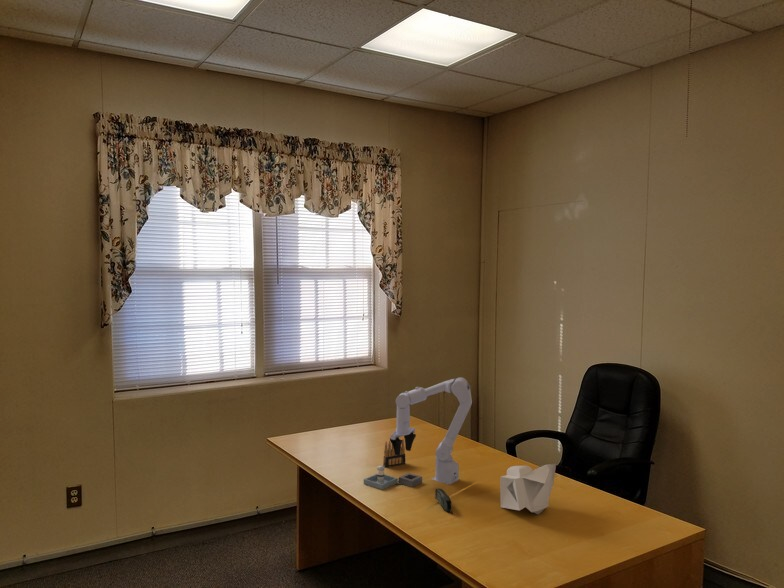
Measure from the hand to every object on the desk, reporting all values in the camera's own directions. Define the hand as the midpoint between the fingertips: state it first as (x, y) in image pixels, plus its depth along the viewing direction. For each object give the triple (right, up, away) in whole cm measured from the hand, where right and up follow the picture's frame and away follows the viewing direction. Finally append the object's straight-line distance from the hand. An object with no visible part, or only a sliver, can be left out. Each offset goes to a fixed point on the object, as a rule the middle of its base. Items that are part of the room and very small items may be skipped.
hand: (402, 452), depth 251 cm
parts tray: (-9, -11, -9) cm, 17 cm away
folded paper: (+49, -12, -33) cm, 60 cm away
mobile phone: (+15, -12, -31) cm, 36 cm away
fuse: (-9, -10, -9) cm, 17 cm away
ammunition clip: (-4, -10, +14) cm, 17 cm away
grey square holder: (+3, -11, -8) cm, 14 cm away
